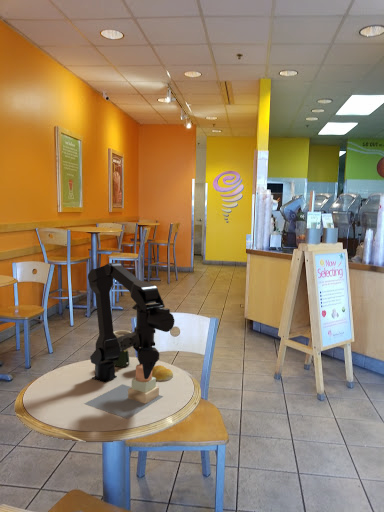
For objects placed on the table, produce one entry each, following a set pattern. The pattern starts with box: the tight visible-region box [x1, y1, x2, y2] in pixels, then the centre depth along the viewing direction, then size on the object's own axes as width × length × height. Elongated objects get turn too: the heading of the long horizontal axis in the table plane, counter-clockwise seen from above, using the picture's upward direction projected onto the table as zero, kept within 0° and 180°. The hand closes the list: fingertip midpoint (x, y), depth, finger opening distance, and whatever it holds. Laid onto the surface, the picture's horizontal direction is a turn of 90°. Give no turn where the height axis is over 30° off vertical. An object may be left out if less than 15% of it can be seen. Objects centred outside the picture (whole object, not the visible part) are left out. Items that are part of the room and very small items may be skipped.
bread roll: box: [152, 365, 174, 382], centre depth 148 cm, size 8×9×4 cm
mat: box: [83, 384, 164, 420], centre depth 127 cm, size 17×18×1 cm
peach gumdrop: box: [135, 363, 152, 382], centre depth 129 cm, size 5×5×4 cm
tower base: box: [128, 385, 160, 404], centre depth 130 cm, size 7×7×3 cm
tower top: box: [131, 377, 157, 393], centre depth 129 cm, size 6×6×3 cm
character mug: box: [114, 329, 132, 367], centre depth 158 cm, size 11×7×13 cm, turn 149°
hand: (144, 373), depth 129 cm, fingers open, 9 cm apart
